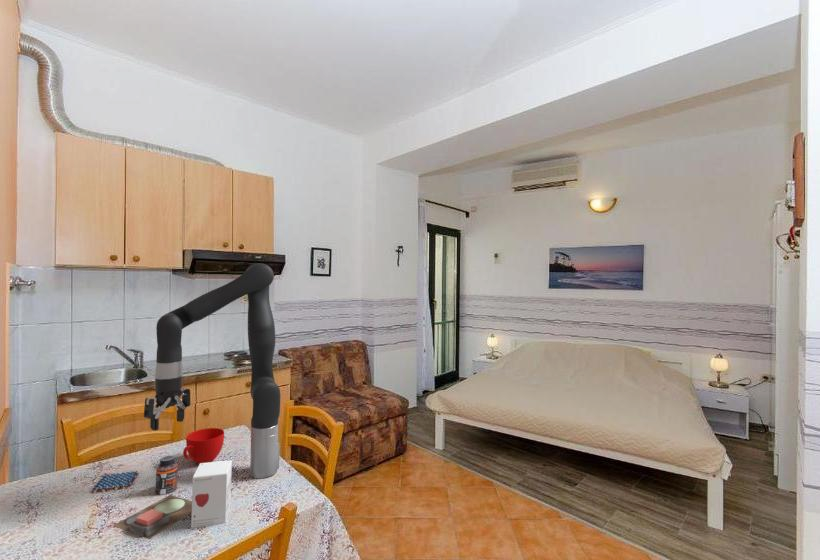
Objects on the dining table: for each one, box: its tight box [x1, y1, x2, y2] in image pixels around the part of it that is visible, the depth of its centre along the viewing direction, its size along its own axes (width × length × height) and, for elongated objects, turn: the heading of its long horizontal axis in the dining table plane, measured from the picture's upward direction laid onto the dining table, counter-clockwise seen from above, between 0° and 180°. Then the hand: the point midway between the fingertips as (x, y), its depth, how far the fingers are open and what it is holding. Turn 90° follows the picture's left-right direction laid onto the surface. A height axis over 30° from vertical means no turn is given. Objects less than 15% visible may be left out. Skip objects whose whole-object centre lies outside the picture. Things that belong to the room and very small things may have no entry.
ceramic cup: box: [182, 427, 225, 465], centre depth 147 cm, size 13×17×10 cm
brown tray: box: [112, 494, 192, 540], centre depth 112 cm, size 17×14×3 cm
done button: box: [136, 509, 163, 527], centre depth 107 cm, size 4×4×2 cm
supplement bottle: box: [155, 455, 179, 496], centre depth 126 cm, size 6×6×11 cm
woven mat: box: [91, 470, 140, 494], centre depth 131 cm, size 10×11×2 cm
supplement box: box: [190, 459, 233, 529], centre depth 112 cm, size 9×9×15 cm
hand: (167, 425), depth 126 cm, fingers open, 8 cm apart
